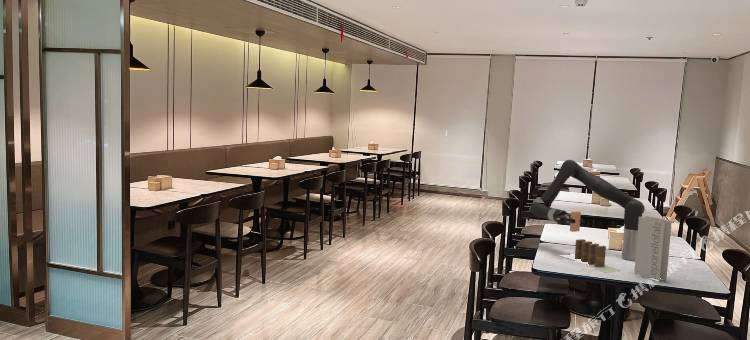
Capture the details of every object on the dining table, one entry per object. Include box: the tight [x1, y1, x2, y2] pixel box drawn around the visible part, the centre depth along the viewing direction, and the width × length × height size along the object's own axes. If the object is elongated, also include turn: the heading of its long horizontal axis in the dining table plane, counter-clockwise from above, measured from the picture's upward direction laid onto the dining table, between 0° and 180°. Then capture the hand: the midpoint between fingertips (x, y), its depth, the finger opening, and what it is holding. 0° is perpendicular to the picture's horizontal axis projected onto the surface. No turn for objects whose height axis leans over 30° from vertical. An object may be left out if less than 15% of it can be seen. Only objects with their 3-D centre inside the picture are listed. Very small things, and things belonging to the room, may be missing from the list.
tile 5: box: [594, 245, 607, 267], centre depth 299 cm, size 2×5×11 cm, turn 112°
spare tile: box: [569, 210, 582, 233], centre depth 314 cm, size 2×5×11 cm, turn 113°
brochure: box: [633, 215, 673, 282], centre depth 282 cm, size 14×6×30 cm, turn 27°
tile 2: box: [574, 238, 587, 259], centre depth 313 cm, size 2×5×11 cm, turn 112°
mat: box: [588, 264, 622, 273], centre depth 307 cm, size 36×11×1 cm, turn 22°
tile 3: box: [581, 240, 593, 262], centre depth 308 cm, size 2×5×11 cm, turn 112°
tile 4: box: [588, 243, 600, 265], centre depth 303 cm, size 2×5×11 cm, turn 112°
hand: (578, 221), depth 311 cm, fingers closed on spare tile, 5 cm apart
